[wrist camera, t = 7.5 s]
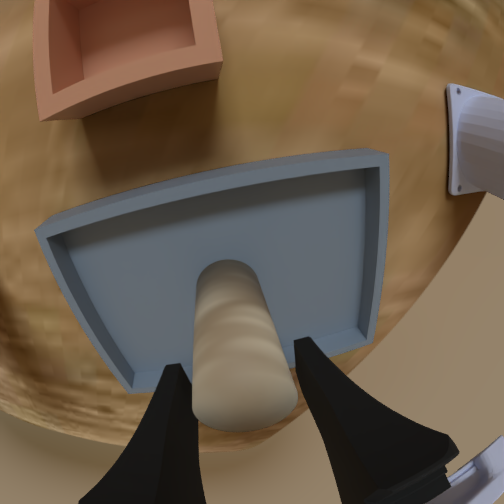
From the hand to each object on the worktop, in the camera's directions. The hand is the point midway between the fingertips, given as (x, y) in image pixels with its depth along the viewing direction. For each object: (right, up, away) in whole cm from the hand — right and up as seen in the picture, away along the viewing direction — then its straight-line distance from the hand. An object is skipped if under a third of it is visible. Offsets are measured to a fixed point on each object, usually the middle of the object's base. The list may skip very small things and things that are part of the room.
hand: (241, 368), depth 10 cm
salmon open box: (-5, +15, -1) cm, 16 cm away
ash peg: (-1, +3, +5) cm, 6 cm away
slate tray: (-1, +3, +6) cm, 6 cm away
